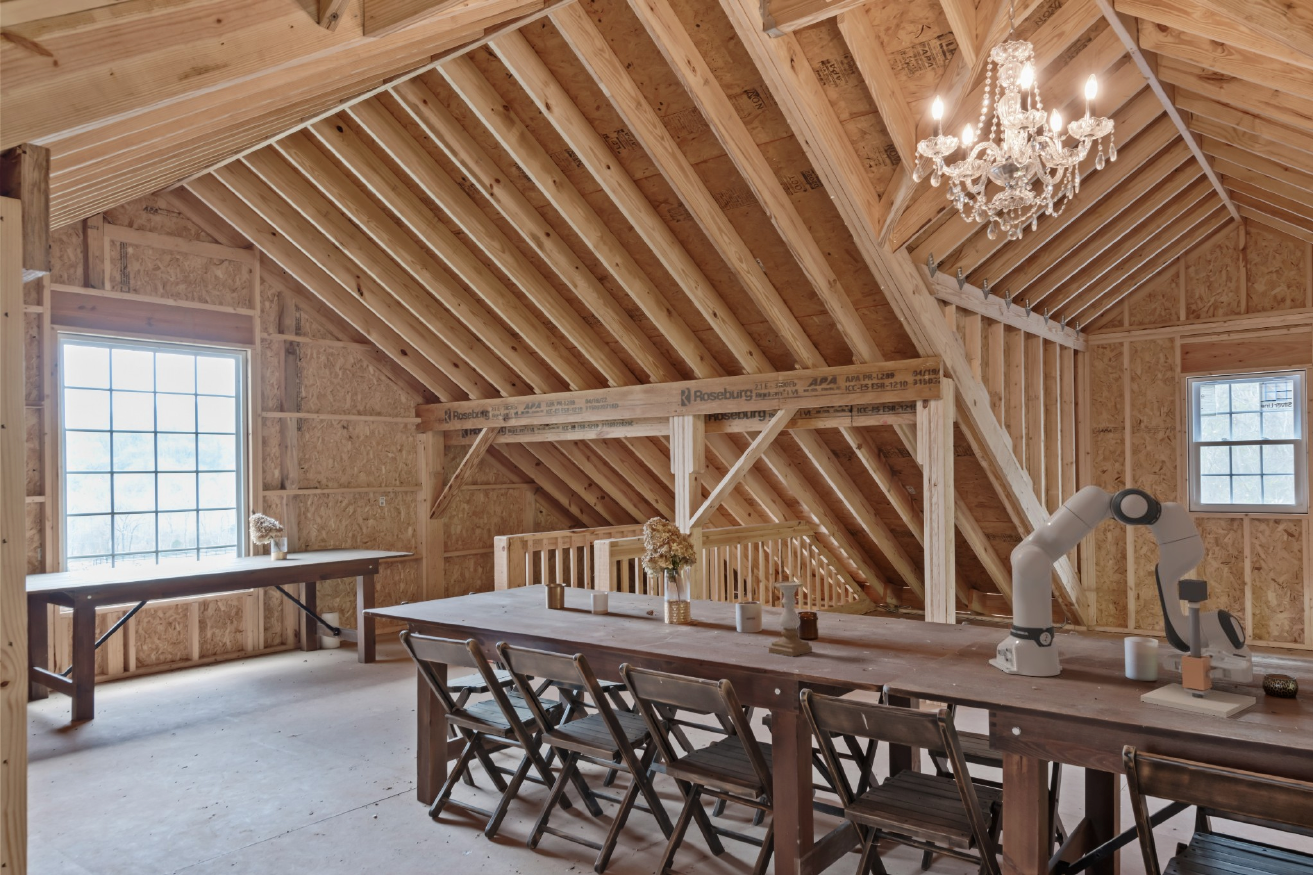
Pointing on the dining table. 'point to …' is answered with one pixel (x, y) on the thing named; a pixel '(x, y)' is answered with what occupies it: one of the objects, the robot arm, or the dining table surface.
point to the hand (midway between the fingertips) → (1195, 672)
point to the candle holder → (789, 624)
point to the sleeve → (1196, 672)
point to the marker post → (1194, 698)
